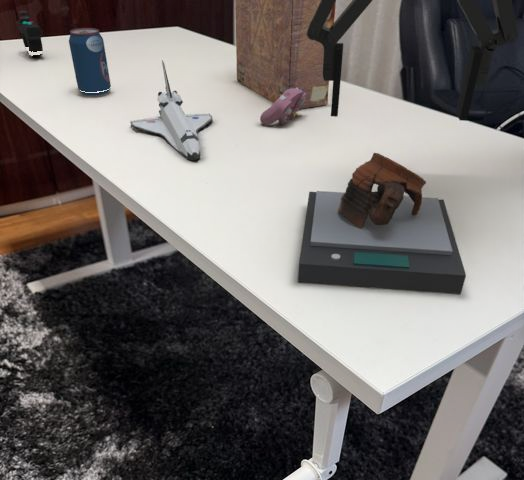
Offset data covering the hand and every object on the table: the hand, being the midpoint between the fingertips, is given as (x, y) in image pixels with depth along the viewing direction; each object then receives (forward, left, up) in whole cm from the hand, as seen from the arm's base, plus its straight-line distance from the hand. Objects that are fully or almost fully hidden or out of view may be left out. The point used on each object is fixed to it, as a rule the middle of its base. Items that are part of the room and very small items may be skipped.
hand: (397, 114), depth 59 cm
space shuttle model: (+34, -33, -16) cm, 50 cm away
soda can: (+59, -58, -16) cm, 84 cm away
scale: (0, +2, -15) cm, 15 cm away
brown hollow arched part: (0, 0, -12) cm, 12 cm away
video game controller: (+16, -45, -16) cm, 51 cm away
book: (+19, -64, -16) cm, 69 cm away
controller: (+86, -88, -16) cm, 124 cm away
